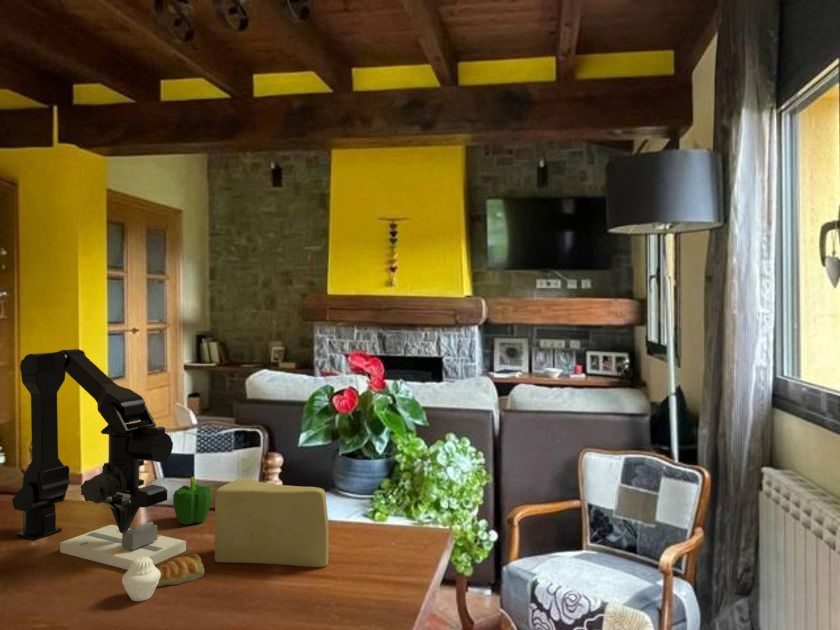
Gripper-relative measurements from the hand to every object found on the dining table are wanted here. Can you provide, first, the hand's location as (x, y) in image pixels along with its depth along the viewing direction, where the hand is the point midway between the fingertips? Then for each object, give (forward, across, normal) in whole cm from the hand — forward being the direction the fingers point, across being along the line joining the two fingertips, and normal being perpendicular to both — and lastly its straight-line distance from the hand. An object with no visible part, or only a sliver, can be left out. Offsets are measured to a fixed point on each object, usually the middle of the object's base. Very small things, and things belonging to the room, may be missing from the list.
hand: (123, 532), depth 130 cm
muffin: (+4, +20, -13) cm, 24 cm away
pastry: (+4, +20, -4) cm, 21 cm away
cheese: (+4, +30, +10) cm, 32 cm away
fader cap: (+1, +5, 0) cm, 5 cm away
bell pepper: (+4, -1, +20) cm, 20 cm away
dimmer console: (+4, 0, 0) cm, 4 cm away
